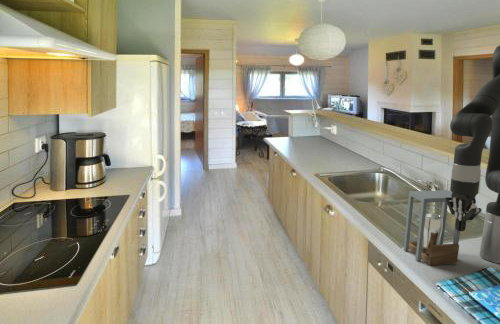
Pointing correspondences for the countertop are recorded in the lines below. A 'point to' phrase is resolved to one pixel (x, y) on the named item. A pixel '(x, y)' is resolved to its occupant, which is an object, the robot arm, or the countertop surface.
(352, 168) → the countertop surface
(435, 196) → the grey four-legged stool
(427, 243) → the beer glass
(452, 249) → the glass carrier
